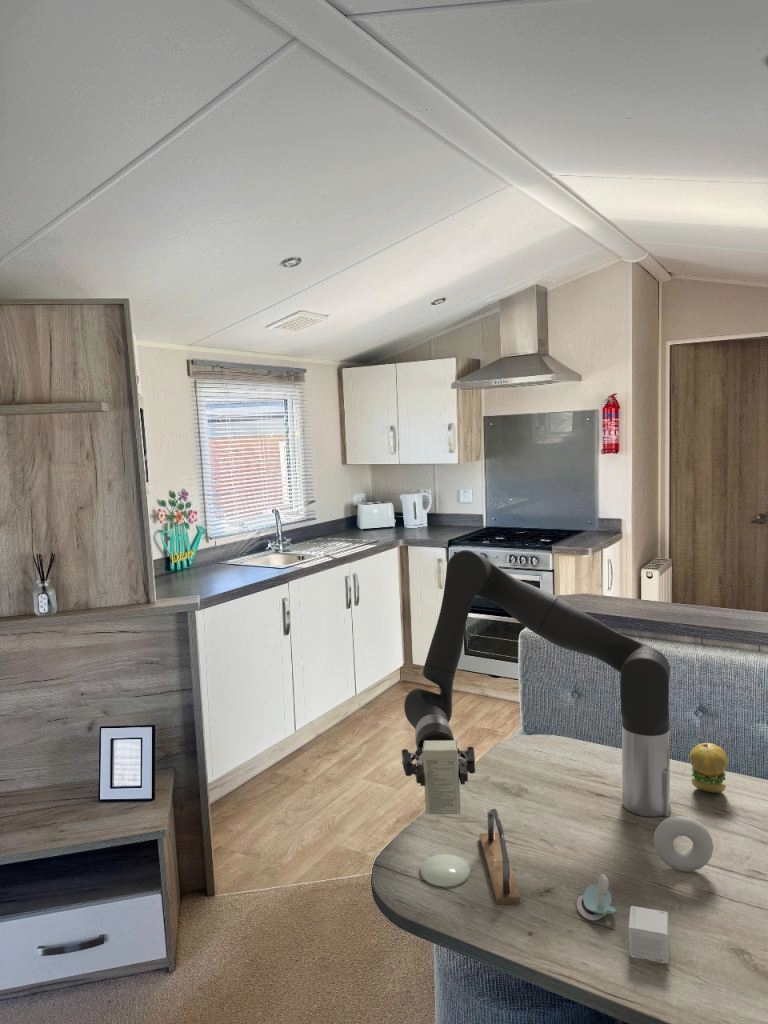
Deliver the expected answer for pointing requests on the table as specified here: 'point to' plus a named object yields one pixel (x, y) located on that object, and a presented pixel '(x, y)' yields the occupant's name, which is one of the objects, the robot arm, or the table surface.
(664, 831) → the donut
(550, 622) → the robot arm
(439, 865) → the glossy white rounded disc
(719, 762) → the hamburger
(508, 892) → the wood and metal stand
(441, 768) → the skincare box
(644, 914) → the small box
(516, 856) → the table surface
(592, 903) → the pacifier
